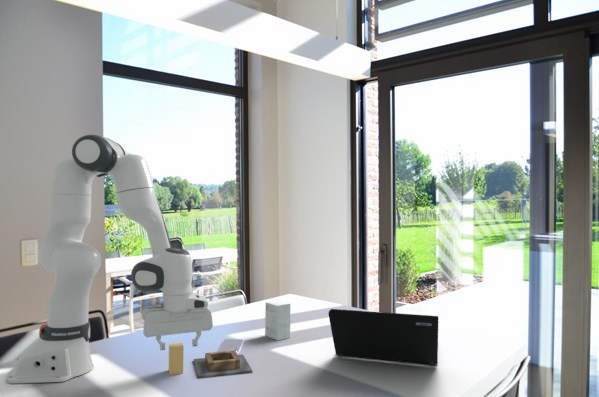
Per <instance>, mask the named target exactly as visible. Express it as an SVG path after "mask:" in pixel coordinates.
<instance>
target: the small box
mask: <svg viewBox="0 0 599 397" xmlns="http://www.w3.org/2000/svg"><path fill="white" fill-rule="evenodd" d="M264 310H265V315H264V316H265V317H264V318H265V320H264V321H265V322H264V323H265V324H264V325H265V326H264V329H265V330H264V336H266V337H267V338H270V339H273V340H274V341H275V340H276V341H281V340H286V339H290V338H291V303H289V302H286V301H282V300H272V301H265V309H264Z"/></svg>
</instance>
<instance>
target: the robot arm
mask: <svg viewBox="0 0 599 397" xmlns="http://www.w3.org/2000/svg"><path fill="white" fill-rule="evenodd" d="M71 155H72V157H68V158H67V157H66V158H62V159H60V160H58V161H57V163H56V164H55V167H54V170H53V174H52V179H51V187H50V203H49V204H50V205H49V207H50V208H49V221H48V226H47V230H46V235H45V237H44V238H45V239H44V242H43V245H42V247H41V248H40V250H39V252H38V257H37V258H38V261H39V262H38V263H39V265H40V266H41V267H42V268H43V269H44V270H45V271H46V272H47V273H49V274H51V275H55V279H54V284H53V288H52V291H51V294H50V295H49V296H48V299H47V317H46V318H47V322H43V323H42V324H41V325H40V328H39V333H38V336H39V338H38V339H36V341H34V342H32V343H31V344H30V345H29V346H28V347H26V348H25V349H24V350H23V351H21V353H20V354H19V355H18V356H19V357H18V358H17V362H16V366H15V367H13V368H12V369H11V370H10V371H9V372H8V373H7V374H6V379H5V380H6V382H7V383H8V384H35V383H36V384H37V383H39V384H41V383H62V382H66V381H69V380H71V379H72V378H75V377H78V376H81V375H85V374H87V373H89V372H90V371H92V370H93V368H94V363H93V360H92V356H91V350H90V349H91V348H90V338H91V324H90V322H91V321H90V320H89V310H90V308H89V304H90V303H89V302H90V300H89V299H90V293H91V290H92V289H91V288H92V285H93V281H94V278H95V276H96V275H97V273H99V270H100V268H101V267H102V256H101V253H100V252H99V251H98V249H96V247H94V246H92V245H91V244H88V243H87V242H83V239H84V236H85V233H86V229H87V227H88V225H89V224H90V222H91V216H92V192H93V191H92V187H93V181H94V179H95V178H96V177H97V178H100V177H105V176H107V175H109V176H110V177H111V178H112V181H113V184H114V187H115V193H116V200H117V204H118V207H119V210H120V212H121V213H122V215H124V216H125V217H126V218H127V219H129V220H131V221H133V222H135V223H137V224H139V225H140V226H141V227H142V228H143V229H144V230H145V232H146V234H147V238H148V242H149V245H150V249H151V252H152V257H149V258H147V259H144V260H141V261H139V262H137V263H135V265H134V266H133V267H132V270H131V274H130V279H131V282H132V284H133V286H134V287H135V289H137V290H138V291H140V292H142V293H143V292H146V293H148V292H153V291H154V292H155V291H157V290H161V291H162V303H156V304H155V303H154V304H148V305H146V306H144V307H143V308H142V310H141V318H142V319H143V332H142V333H143V336H144V337H145V338H153V337H155V340H156V341H157V343H158V345H159V350H160V351H166V342H162V340H161V339H162V336H169V335H178V334H179V335H181V334H187V333H195V335H196V336H195V338H192V339H191V342H192V344H191V346H192V347H198V341H199V339H200V338H201V336H202V332H205V331H206V332H207V331H211V330H212V329H213V327H214V325H213V315H212V312H211V308H209V300H208V298H207V297H206V296H203V295H201V294H200V295H199V294H194V289H193V285H192V281H193V275H194V273H193V272H194V271H193V262H192V257H191V253H190V252H189V251H188V250H186V249H184V248H182V247H181V248H180V247H172V244H171V240H170V236H169V232H168V230H167V229H168V228H167V225H166V222H165V218H164V215H163V213H162V211H161V209H160V206H159V203H158V200H157V194H156V190H155V188H154V187H155V185H154V181H153V178H152V173H151V171H150V168H149V166H148V163H147V161H146V160H145V158H144V157H142V156H141V155H140V154H139V155H138V154H133V153H132V154H126V151H125V149H124V147H123V146H121V144H119V142H116V141H114V140H113V139H110V138H108V137H105V136H100V135H98V134H86V135H82V136H81V137H79V138H78V139H77V140H75V142H74V144H73V145H72V149H71Z"/></svg>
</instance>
